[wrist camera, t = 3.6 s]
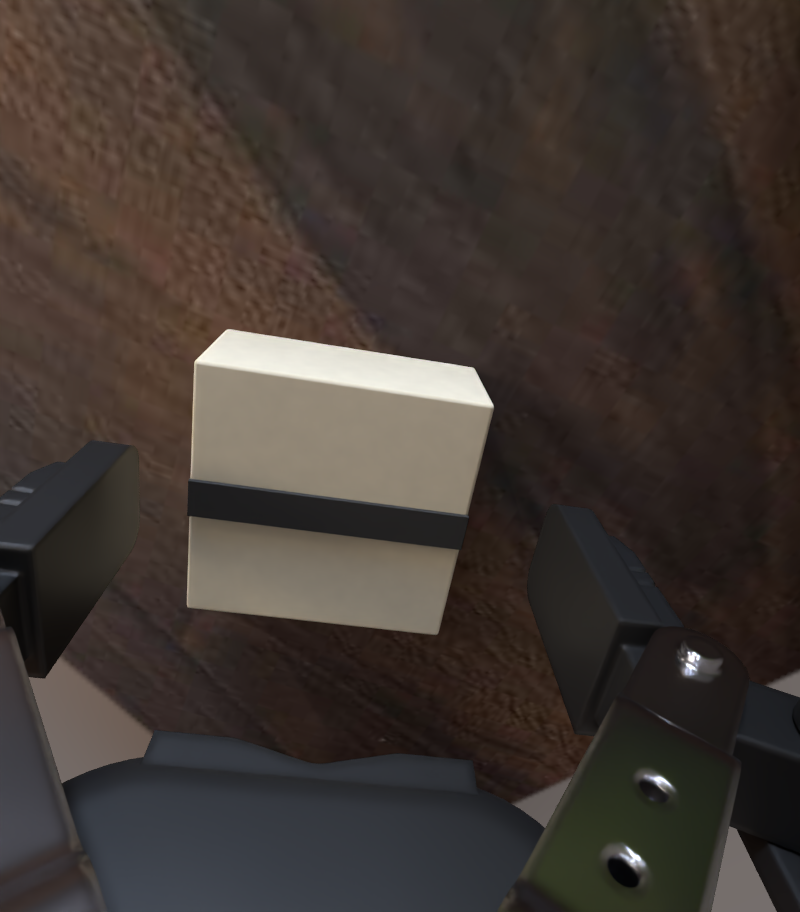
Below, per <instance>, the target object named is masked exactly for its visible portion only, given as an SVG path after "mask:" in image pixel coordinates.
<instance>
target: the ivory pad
mask: <svg viewBox="0 0 800 912" xmlns="http://www.w3.org/2000/svg"><path fill="white" fill-rule="evenodd" d="M493 410H494V405H493V403H492V401H491V400H490V398H489V396H488V394H487V392H486V390H485V388H484V386H483V384H482V382H481V380H480V378H479V376H478V374H477V373H476V371H475V369H474V368H472V367H466V366H459V365H453V364H447V363H440V362H434V361H427V360H421V359H415V358H408V357H402V356H396V355H389V354H383V353H377V352H370V351H364V350H357V349H351V348H345V347H338V346H332V345H326V344H319V343H313V342H307V341H300V340H294V339H287V338H281V337H275V336H268V335H262V334H256V333H249V332H243V331H236V330H230V329H228V330H226V331H225V332H224V333H223V334H222V335H221V336H220V337H219V338H218V339H217V340H216V341H215V342H214V343H213V344H212V345H211V346H210V347H209V348H208V349H207V350H206V351H205V352H204V353H203V354H202V355H201V356H200V357H199V358H198V359H197V360H196V361H195V363H194V390H193V422H192V454H191V479H189V481H188V512H187V516H190V518H189V550H188V582H187V606H188V607H189V608H197V609H206V610H215V611H224V612H233V613H242V614H251V615H260V616H269V617H278V618H287V619H296V620H305V621H314V622H323V623H332V624H341V625H350V626H359V627H368V628H377V629H386V630H395V631H404V632H413V633H422V634H431V635H437V634H438V632H439V629H440V625H441V621H442V617H443V613H444V609H445V605H446V601H447V596H448V592H449V588H450V584H451V580H452V576H453V572H454V568H455V564H456V560H457V556H458V552H459V550H461V548H462V544H463V540H464V536H465V532H466V528H467V524H468V520H469V516H468V511H469V507H470V503H471V499H472V495H473V491H474V487H475V483H476V479H477V475H478V471H479V467H480V463H481V459H482V455H483V451H484V447H485V443H486V439H487V434H488V430H489V426H490V422H491V418H492V414H493Z"/></svg>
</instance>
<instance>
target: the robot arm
mask: <svg viewBox="0 0 800 912" xmlns="http://www.w3.org/2000/svg"><path fill="white" fill-rule="evenodd" d="M139 522H140V501H139V456H138V451H137V449H136V447H135V446H131V445H123V444H116V443H109V442H101V441H94V440H92V441H90V442H88V443H87V444H86V445H85V446H84V447H83V448H82V449H81V450H79V451H78V452H77V453H76V454H75V455H74V456H73V457H72V458H70V459H69V460H68V461H67V462H66V463H64V462H55V463H53V464H50V465H48V466H45V467H43V468H40V469H38V470H35V471H33V472H31V473H29V474H28V475H27V476H26V477H24V478H23V479H22V480H21V481H19V482H18V483H17V484H16V485H15V486H13V487H12V491H11V490H9V491H7V492H6V493H5V494H4V495H3V496H1V497H0V912H711V910H712V904H713V900H714V895H715V890H716V886H717V881H718V876H719V872H720V867H721V862H722V857H723V853H724V848H725V843H726V838H727V834H728V829H729V826H731V827H733V828H736V829H737V831H738V833H739V835H740V837H741V839H742V841H743V843H744V845H745V847H746V849H747V852H748V853H749V856H750V858H751V860H752V862H753V864H754V866H755V868H756V870H757V872H758V874H759V876H760V878H761V880H762V882H763V884H764V886H765V888H766V890H767V892H768V894H769V896H770V898H771V901H772V903H773V905H774V907H775V908H776V911H777V912H800V697H796V696H794V695H791V694H788V693H784V692H781V691H779V690H776V689H773V688H770V687H767V686H764V685H761V684H758V683H755V682H752V681H750V678H749V674H748V671H747V669H746V667H745V666H744V664H743V663H742V661H741V660H740V659H739V658H738V657H737V656H736V655H735V654H734V653H733V652H732V651H731V650H729V649H728V648H727V647H726V646H724V645H723V644H721V643H720V642H718V641H716V640H715V639H713V638H711V637H709V636H707V635H705V634H703V633H700V632H698V631H695V630H692V629H688V628H685V627H684V626H683V624H682V623H681V621H680V620H679V618H678V617H677V615H676V614H675V612H674V611H673V609H672V608H671V606H670V605H669V603H668V602H667V600H666V599H665V597H664V596H663V595H662V593H661V592H660V590H659V589H658V587H655V583H654V581H653V580H652V578H651V577H650V575H649V574H648V573H645V570H646V569H645V568H644V566H643V565H642V563H641V562H640V560H639V559H638V557H637V556H636V554H635V553H634V552H633V551H632V550H630V549H629V548H628V547H627V546H625V545H624V544H623V543H622V542H620V541H619V540H618V539H617V538H615V537H614V536H608V534H607V533H606V531H605V530H604V528H603V526H602V525H601V523H600V522H599V520H598V519H597V517H596V515H595V514H594V512H593V511H592V510H591V509H586V508H579V507H571V506H564V505H557V504H553V505H551V506H550V508H549V509H548V511H547V513H546V516H545V519H544V523H543V526H542V529H541V532H540V536H539V539H538V542H537V546H536V549H535V552H534V555H533V559H532V562H531V565H530V569H529V573H528V581H527V593H528V599H529V603H530V606H531V608H532V611H533V614H534V617H535V620H536V623H537V626H538V629H539V632H540V634H541V637H542V640H543V643H544V646H545V649H546V652H547V655H548V657H549V660H550V663H551V666H552V669H553V672H554V675H555V678H556V681H557V683H558V686H559V689H560V692H561V695H562V698H563V701H564V704H565V707H566V709H567V712H568V715H569V718H570V721H571V724H572V727H573V730H574V733H575V734H579V735H588V736H594V738H593V740H592V742H591V744H590V746H589V748H588V749H587V751H586V753H585V755H584V757H583V759H582V761H581V762H580V764H579V766H578V768H577V770H576V772H575V774H574V776H573V777H572V779H571V781H570V783H569V785H568V787H567V789H566V790H565V792H564V794H563V796H562V798H561V800H560V802H559V804H558V805H557V807H556V809H555V811H554V813H553V815H552V817H551V819H550V820H549V822H548V824H547V826H546V828H544V827H543V826H542V825H541V824H540V823H538V822H537V821H536V820H534V819H533V818H531V817H530V816H529V815H528V814H526V813H525V812H524V811H522V810H521V809H519V808H517V807H516V806H514V805H512V804H511V803H509V802H507V801H506V800H504V799H502V798H500V797H497V796H495V795H493V794H491V793H489V792H487V791H484V790H481V789H479V788H477V786H476V780H475V773H474V767H473V761H472V760H462V759H451V758H441V757H430V756H420V755H409V754H399V753H396V754H389V755H382V756H375V757H368V758H360V759H353V760H346V761H339V762H332V763H325V764H314V763H309V762H306V761H303V760H300V759H297V758H294V757H291V756H288V755H285V754H282V753H279V752H276V751H273V750H270V749H267V748H264V747H261V746H258V745H255V744H252V743H249V742H246V741H243V740H240V739H237V738H231V737H221V736H210V735H200V734H189V733H179V732H168V731H158V730H155V731H154V733H153V736H152V738H151V741H150V743H149V746H148V748H147V750H146V753H145V755H144V757H142V758H136V759H130V760H125V761H122V762H118V763H113V764H109V765H106V766H103V767H100V768H97V769H94V770H91V771H88V772H86V773H84V774H81V775H79V776H77V777H75V778H72V779H70V780H68V781H66V782H64V783H61V780H60V777H59V773H58V770H57V767H56V764H55V761H54V758H53V755H52V751H51V748H50V745H49V742H48V738H47V735H46V732H45V729H44V725H43V722H42V719H41V716H40V712H39V709H38V706H37V703H36V700H35V696H34V693H33V690H32V687H31V684H30V680H29V677H34V678H45V677H46V676H47V674H48V673H49V672H50V670H51V669H52V667H53V666H54V664H55V663H56V661H57V660H58V658H59V657H60V655H61V654H62V652H63V651H64V649H65V648H66V647H67V645H68V644H69V642H70V641H71V639H72V638H73V636H74V635H75V633H76V632H77V630H78V629H79V627H80V626H81V624H82V623H83V622H84V620H85V619H86V617H87V616H88V614H89V613H90V611H91V610H92V608H93V607H94V605H95V604H96V602H97V601H98V599H99V598H100V597H101V595H102V594H103V592H104V591H105V589H106V588H107V586H108V585H109V583H110V582H111V580H112V579H113V577H114V576H115V574H116V573H117V572H118V570H119V569H120V567H121V566H122V564H123V563H124V561H125V560H126V558H127V557H128V555H129V554H130V552H131V551H132V549H133V547H134V544H135V542H136V539H137V535H138V530H139Z"/></svg>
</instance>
